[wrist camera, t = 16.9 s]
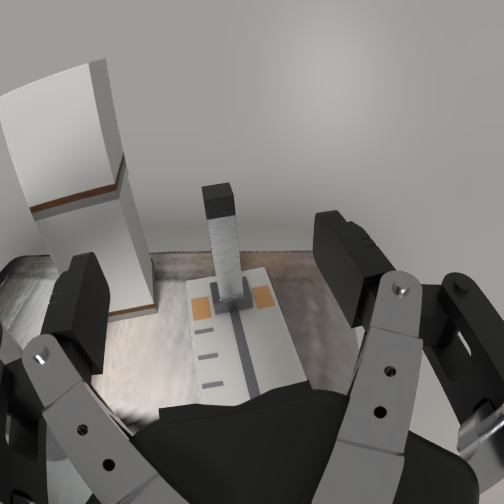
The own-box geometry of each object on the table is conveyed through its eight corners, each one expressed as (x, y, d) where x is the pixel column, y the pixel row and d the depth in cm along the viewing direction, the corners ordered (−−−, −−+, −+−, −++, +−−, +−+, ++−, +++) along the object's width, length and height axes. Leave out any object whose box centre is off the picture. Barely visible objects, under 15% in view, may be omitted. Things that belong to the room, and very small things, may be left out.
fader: (215, 314, 42) (194, 204, 31) (211, 293, 45) (192, 186, 34) (253, 307, 42) (244, 195, 32) (246, 286, 45) (237, 179, 35)
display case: (154, 267, 54) (105, 58, 32) (157, 312, 46) (88, 63, 24) (94, 280, 52) (28, 83, 31) (88, 325, 44) (-5, 98, 22)
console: (215, 474, 28) (211, 469, 26) (188, 292, 49) (185, 280, 48) (326, 449, 29) (330, 442, 27) (265, 278, 51) (264, 266, 49)
